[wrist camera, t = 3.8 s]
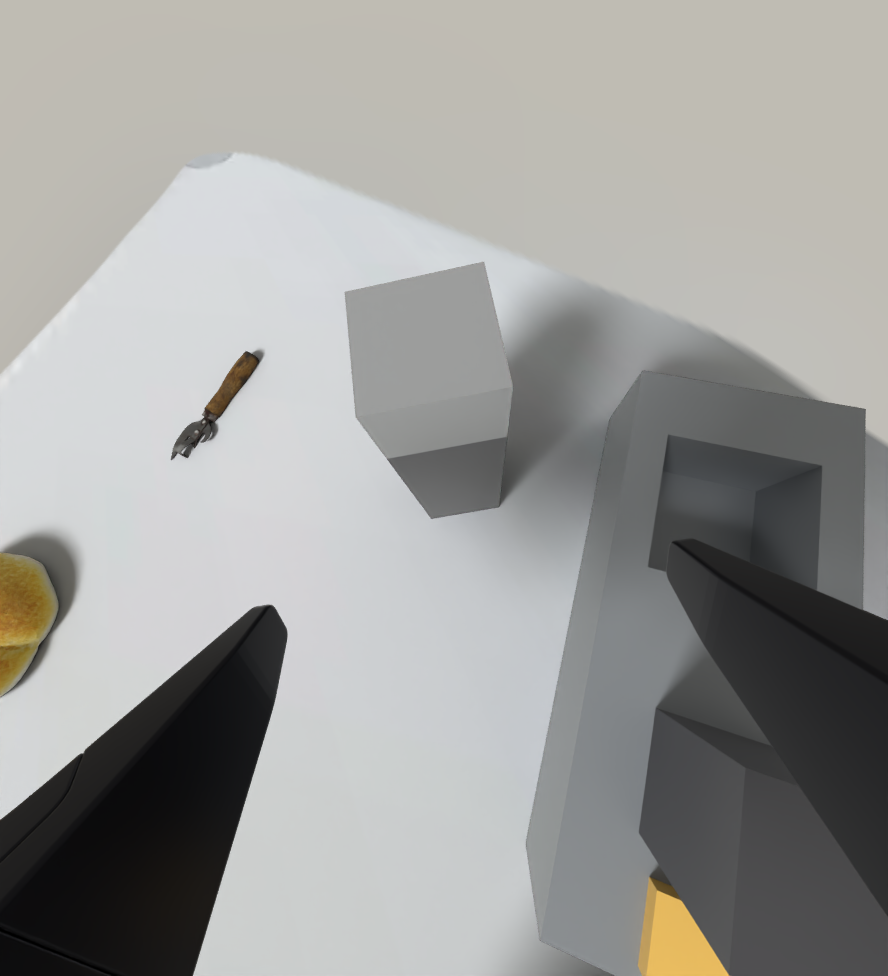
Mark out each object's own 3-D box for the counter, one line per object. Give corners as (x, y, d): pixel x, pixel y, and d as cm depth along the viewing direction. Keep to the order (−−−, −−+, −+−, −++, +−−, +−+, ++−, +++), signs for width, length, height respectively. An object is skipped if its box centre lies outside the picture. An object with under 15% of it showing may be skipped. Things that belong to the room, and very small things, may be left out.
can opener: (253, 357, 27) (243, 346, 26) (275, 371, 26) (266, 361, 25) (167, 455, 26) (153, 449, 24) (189, 473, 25) (175, 467, 24)
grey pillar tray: (741, 935, 15) (1159, 1494, 6) (525, 843, 17) (572, 1161, 7) (777, 452, 21) (1029, 328, 11) (609, 418, 22) (701, 285, 13)
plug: (498, 507, 21) (513, 386, 9) (431, 518, 22) (355, 417, 9) (486, 444, 23) (484, 261, 10) (422, 456, 23) (344, 292, 11)
